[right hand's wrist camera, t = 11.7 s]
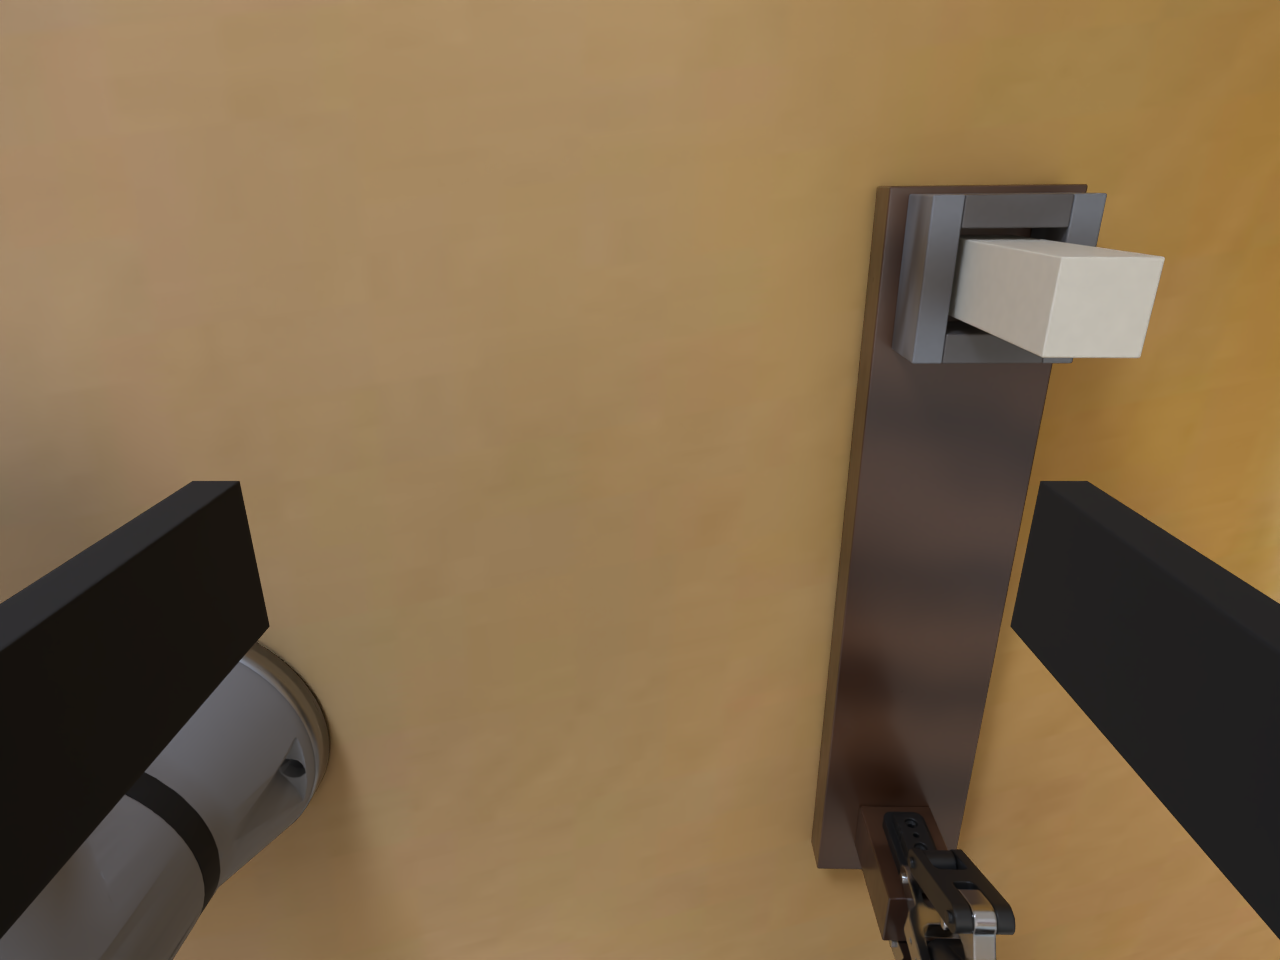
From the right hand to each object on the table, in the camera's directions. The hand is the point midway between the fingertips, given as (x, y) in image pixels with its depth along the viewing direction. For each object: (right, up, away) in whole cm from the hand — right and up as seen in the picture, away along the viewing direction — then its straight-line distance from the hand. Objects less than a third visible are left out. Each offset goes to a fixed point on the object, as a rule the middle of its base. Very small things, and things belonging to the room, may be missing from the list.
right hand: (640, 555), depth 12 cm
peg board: (+14, -4, +27) cm, 31 cm away
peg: (+14, +10, +19) cm, 26 cm away
